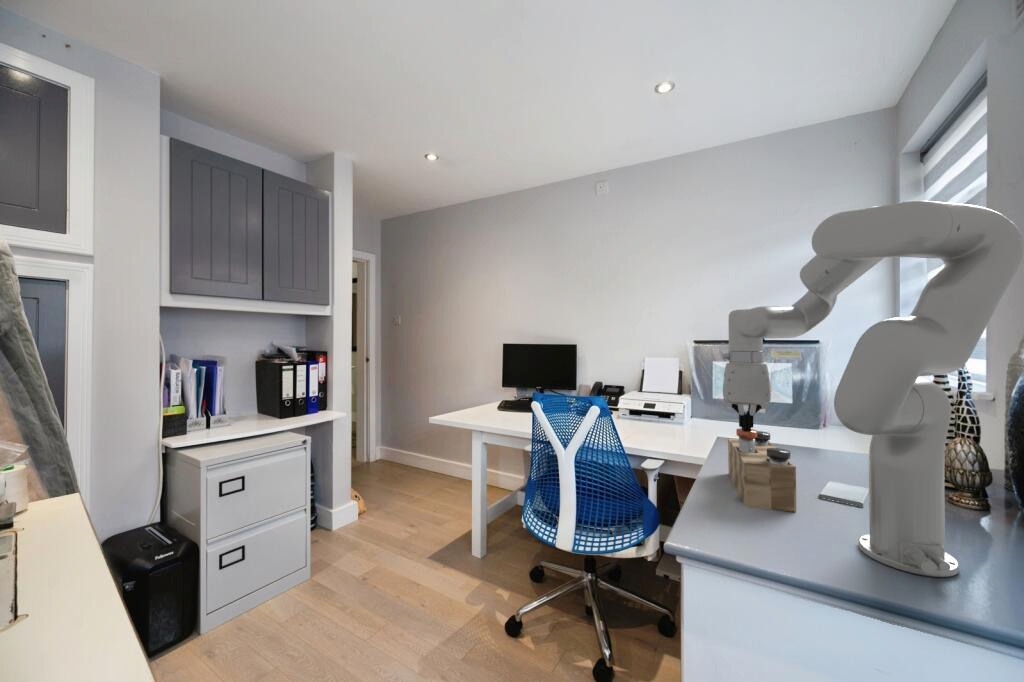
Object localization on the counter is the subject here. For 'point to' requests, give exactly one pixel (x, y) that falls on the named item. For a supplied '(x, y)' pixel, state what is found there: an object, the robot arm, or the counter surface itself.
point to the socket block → (762, 478)
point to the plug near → (778, 456)
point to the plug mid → (746, 440)
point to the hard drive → (845, 493)
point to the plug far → (762, 438)
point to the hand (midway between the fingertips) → (746, 430)
